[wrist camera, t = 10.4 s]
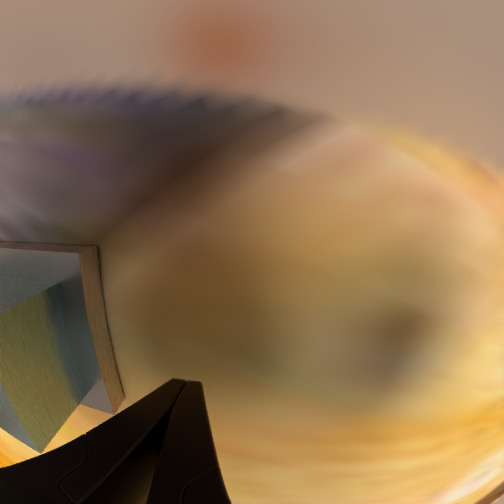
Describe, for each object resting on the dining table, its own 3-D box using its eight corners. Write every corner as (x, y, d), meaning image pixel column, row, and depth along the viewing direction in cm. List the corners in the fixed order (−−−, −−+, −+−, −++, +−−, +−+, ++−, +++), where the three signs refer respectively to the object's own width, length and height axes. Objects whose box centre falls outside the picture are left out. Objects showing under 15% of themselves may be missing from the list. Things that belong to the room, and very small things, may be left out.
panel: (124, 398, 10) (114, 414, 9) (-16, 343, 11) (-27, 351, 10) (97, 246, 9) (78, 253, 8) (-39, 239, 9) (-53, 243, 8)
